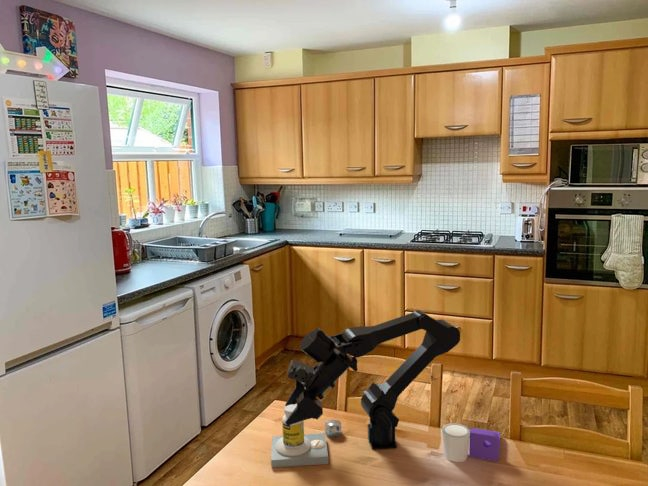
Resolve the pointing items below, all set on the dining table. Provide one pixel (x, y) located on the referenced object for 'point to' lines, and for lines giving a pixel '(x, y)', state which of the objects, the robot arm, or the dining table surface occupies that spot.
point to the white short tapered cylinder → (455, 442)
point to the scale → (300, 451)
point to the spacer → (333, 428)
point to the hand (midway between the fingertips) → (286, 414)
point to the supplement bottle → (292, 430)
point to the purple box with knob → (484, 444)
